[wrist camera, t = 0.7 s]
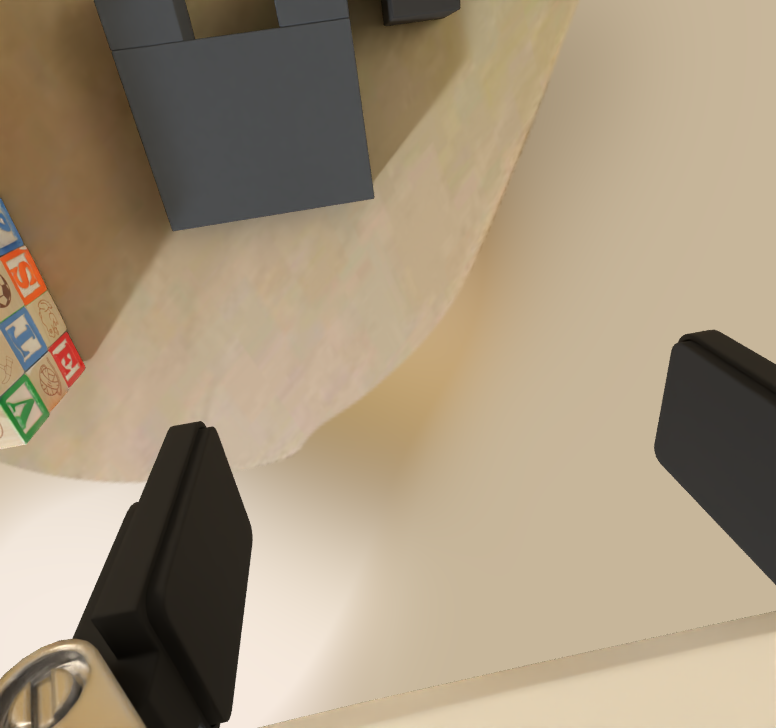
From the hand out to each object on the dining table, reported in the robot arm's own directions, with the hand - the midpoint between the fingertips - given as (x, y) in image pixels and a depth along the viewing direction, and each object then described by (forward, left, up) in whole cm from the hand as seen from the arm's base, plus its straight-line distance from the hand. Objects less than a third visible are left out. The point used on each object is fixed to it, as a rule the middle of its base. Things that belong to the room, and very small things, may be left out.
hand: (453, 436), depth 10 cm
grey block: (-6, -5, -26) cm, 27 cm away
